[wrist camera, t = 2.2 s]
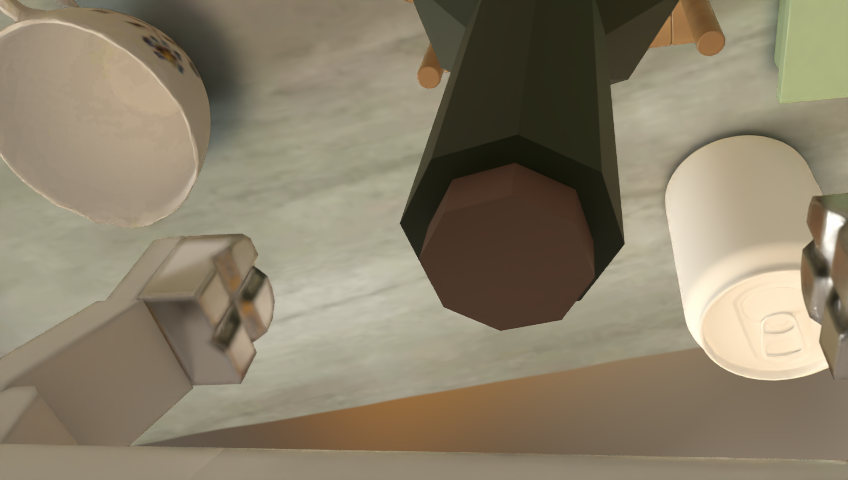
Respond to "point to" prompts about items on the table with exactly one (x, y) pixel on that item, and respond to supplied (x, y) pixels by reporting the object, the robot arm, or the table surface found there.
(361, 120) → the table surface
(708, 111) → the table surface
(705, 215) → the beverage can
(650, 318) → the table surface
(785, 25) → the green low rectangular block
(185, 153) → the teacup
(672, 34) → the dish rack
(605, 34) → the wine bottle
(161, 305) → the robot arm
